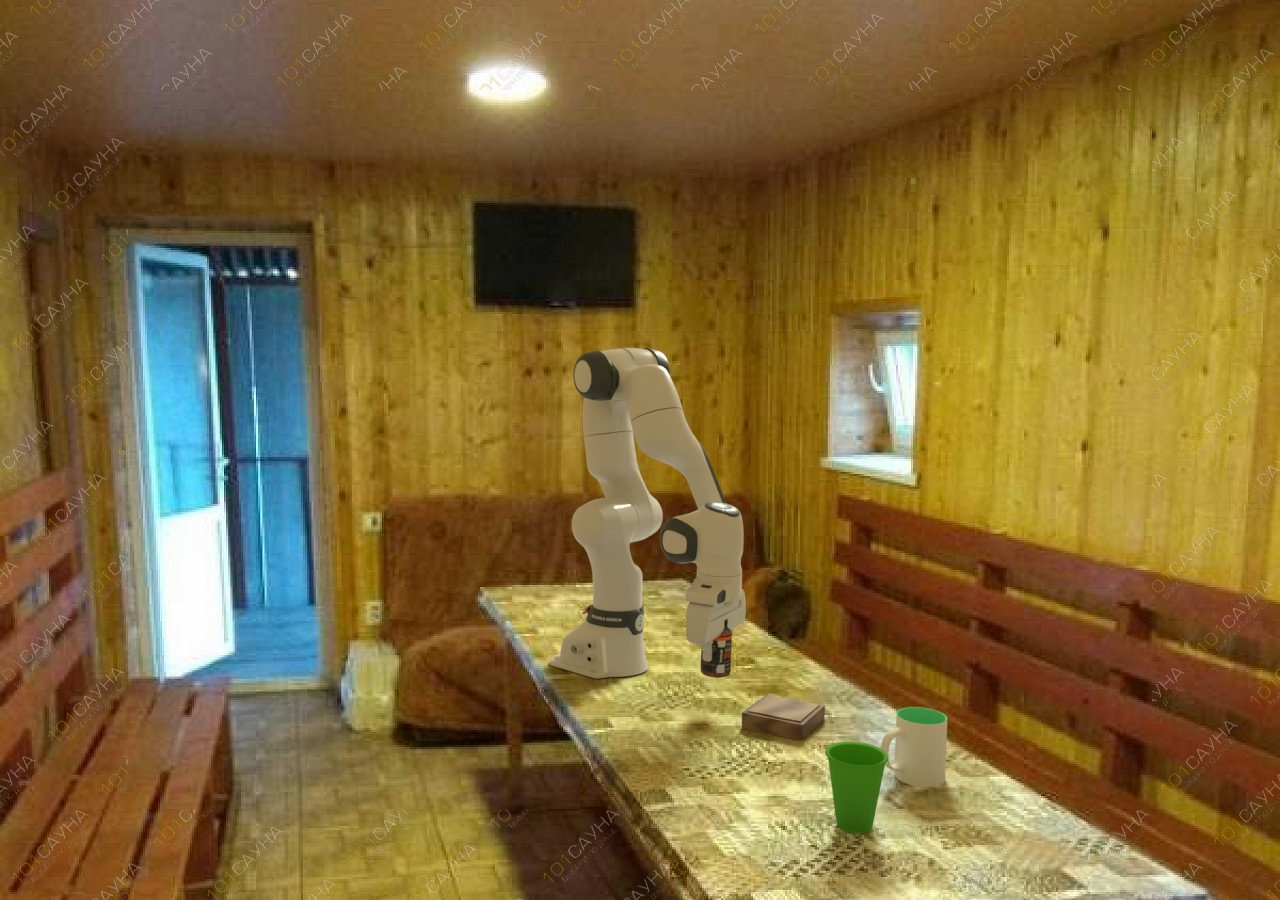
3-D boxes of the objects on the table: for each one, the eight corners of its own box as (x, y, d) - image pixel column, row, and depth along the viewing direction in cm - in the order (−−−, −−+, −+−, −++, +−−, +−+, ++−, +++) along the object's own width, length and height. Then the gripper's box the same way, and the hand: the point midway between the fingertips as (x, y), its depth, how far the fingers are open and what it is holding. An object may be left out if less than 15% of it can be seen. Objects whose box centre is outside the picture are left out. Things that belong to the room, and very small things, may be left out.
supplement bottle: (729, 680, 184) (731, 623, 183) (698, 677, 185) (700, 620, 184) (732, 670, 190) (734, 614, 189) (702, 667, 191) (704, 612, 190)
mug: (902, 796, 150) (904, 732, 150) (866, 777, 157) (868, 715, 157) (955, 780, 156) (958, 719, 156) (918, 763, 163) (921, 704, 162)
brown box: (741, 728, 178) (742, 711, 178) (766, 709, 189) (766, 692, 189) (802, 741, 172) (802, 723, 172) (824, 720, 183) (824, 704, 183)
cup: (816, 812, 144) (818, 741, 143) (874, 810, 145) (876, 740, 144) (832, 841, 135) (835, 766, 134) (895, 839, 136) (897, 764, 135)
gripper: (726, 574, 196) (723, 640, 198) (681, 594, 179) (678, 665, 180) (754, 579, 193) (751, 645, 195) (711, 599, 176) (708, 672, 177)
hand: (716, 655), depth 187 cm, fingers closed on supplement bottle, 6 cm apart
